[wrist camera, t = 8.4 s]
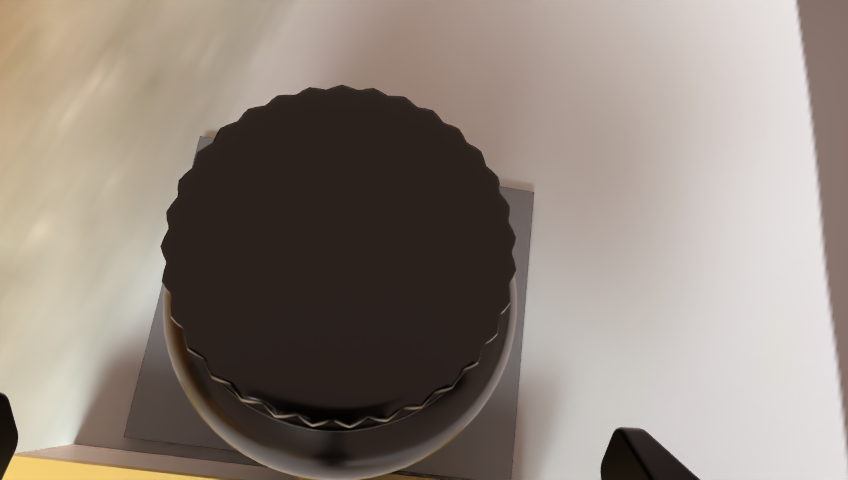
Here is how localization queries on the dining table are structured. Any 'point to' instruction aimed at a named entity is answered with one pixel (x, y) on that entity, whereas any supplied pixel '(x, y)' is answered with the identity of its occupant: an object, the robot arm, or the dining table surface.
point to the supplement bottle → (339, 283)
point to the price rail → (137, 467)
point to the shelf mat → (462, 458)
